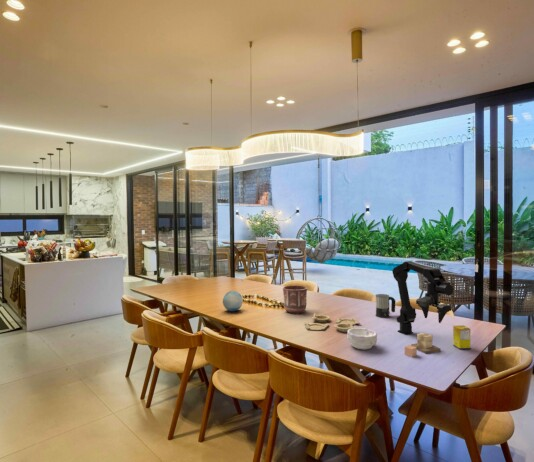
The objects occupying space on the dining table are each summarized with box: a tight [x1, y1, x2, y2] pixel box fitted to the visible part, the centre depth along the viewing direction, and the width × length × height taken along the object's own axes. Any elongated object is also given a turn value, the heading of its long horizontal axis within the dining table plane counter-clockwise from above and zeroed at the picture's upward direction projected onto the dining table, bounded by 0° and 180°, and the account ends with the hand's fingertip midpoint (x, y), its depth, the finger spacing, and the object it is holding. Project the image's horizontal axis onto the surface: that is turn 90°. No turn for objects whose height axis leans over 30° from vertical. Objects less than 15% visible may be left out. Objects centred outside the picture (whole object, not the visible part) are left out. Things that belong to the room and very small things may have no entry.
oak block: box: [416, 332, 433, 349], centre depth 178 cm, size 5×5×6 cm
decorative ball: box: [222, 290, 244, 312], centre depth 255 cm, size 15×15×15 cm
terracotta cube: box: [404, 344, 418, 358], centre depth 170 cm, size 4×4×4 cm
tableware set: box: [303, 312, 361, 333], centre depth 219 cm, size 35×29×4 cm
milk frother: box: [375, 293, 396, 319], centre depth 243 cm, size 14×16×15 cm
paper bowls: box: [346, 327, 378, 350], centre depth 182 cm, size 15×15×8 cm
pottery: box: [282, 284, 308, 315], centre depth 253 cm, size 18×18×18 cm
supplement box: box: [452, 324, 471, 350], centre depth 179 cm, size 6×6×11 cm
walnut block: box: [410, 343, 441, 355], centre depth 178 cm, size 10×10×2 cm
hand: (432, 320), depth 184 cm, fingers open, 9 cm apart
